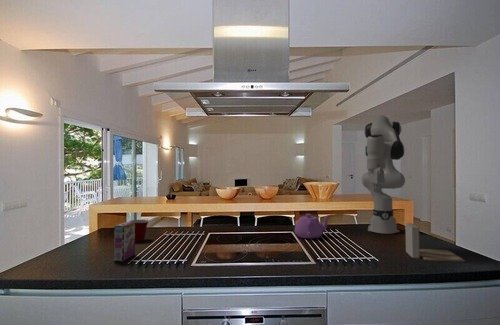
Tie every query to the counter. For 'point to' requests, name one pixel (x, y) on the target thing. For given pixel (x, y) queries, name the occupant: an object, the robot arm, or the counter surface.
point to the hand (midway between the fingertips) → (376, 192)
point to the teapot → (310, 227)
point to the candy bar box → (124, 241)
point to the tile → (412, 240)
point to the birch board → (439, 255)
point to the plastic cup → (140, 229)
